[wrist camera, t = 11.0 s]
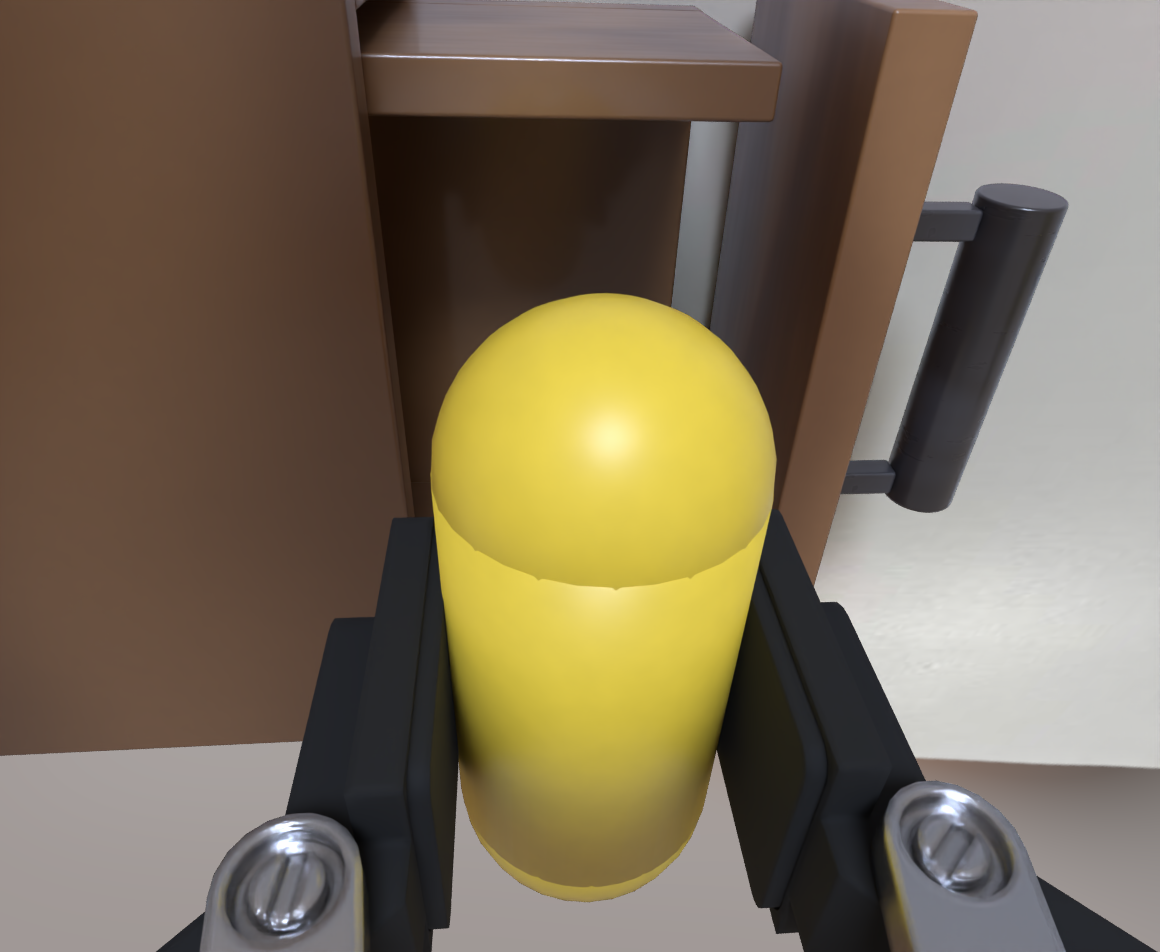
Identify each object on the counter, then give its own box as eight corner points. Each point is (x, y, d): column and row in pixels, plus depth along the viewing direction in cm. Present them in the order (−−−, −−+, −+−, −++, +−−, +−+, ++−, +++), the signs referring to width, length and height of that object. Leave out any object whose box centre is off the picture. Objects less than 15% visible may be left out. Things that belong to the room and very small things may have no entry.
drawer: (1007, -27, 16) (1258, 19, 11) (853, 489, 24) (954, 663, 19) (7, -60, 15) (-278, -26, 9) (192, 505, 23) (95, 700, 17)
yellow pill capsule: (552, 217, 9) (327, 332, 7) (858, 290, 8) (713, 471, 5) (547, 700, 15) (419, 863, 12) (727, 796, 13) (624, 1003, 11)
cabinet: (408, -86, 16) (336, -62, 9) (453, 495, 24) (435, 736, 18) (-528, -122, 14) (-1468, -124, 8) (-127, 509, 23) (-393, 776, 16)
